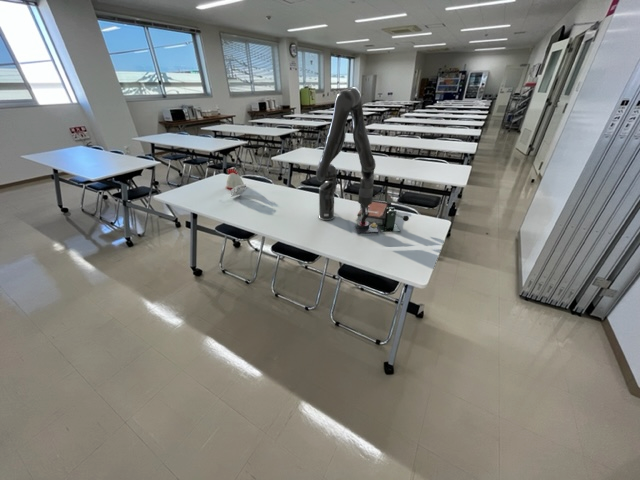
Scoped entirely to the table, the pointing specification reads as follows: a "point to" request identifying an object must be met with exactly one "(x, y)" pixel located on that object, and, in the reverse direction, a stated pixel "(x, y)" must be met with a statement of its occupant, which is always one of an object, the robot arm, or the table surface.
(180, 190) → the table surface
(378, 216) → the book
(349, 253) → the table surface
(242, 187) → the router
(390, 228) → the switch bracket
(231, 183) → the kitchen timer
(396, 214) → the switch lever
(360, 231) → the emergency stop panel
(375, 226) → the lamp lens
